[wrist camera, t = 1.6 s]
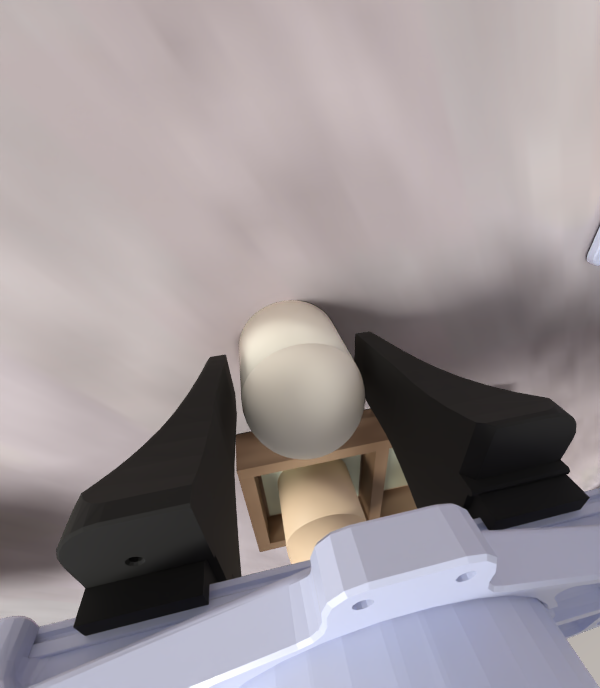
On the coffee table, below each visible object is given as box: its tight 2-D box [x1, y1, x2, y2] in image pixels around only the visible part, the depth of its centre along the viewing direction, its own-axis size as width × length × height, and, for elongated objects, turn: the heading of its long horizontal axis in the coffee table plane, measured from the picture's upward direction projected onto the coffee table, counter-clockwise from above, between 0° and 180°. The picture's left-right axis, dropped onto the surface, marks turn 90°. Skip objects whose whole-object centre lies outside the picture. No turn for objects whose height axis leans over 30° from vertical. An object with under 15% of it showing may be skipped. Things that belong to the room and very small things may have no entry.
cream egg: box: [239, 300, 365, 460], centre depth 12 cm, size 4×4×6 cm
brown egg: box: [278, 459, 366, 564], centre depth 16 cm, size 4×4×6 cm
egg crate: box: [236, 409, 417, 552], centre depth 19 cm, size 14×8×2 cm, turn 94°
